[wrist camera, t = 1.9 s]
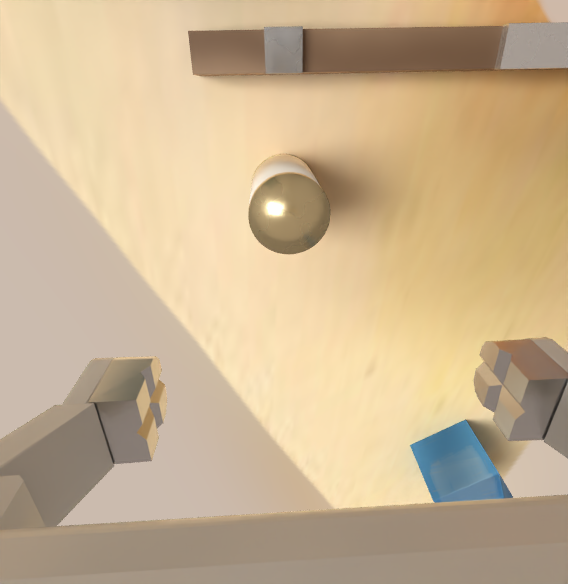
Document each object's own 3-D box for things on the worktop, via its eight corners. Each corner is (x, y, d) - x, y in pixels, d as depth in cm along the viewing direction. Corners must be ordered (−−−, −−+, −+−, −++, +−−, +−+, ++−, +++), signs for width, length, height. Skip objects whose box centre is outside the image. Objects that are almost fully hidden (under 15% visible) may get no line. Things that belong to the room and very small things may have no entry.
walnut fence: (196, 36, 23) (186, 28, 20) (618, 29, 24) (672, 20, 21) (200, 76, 24) (191, 75, 21) (606, 68, 25) (656, 65, 22)
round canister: (249, 155, 26) (245, 175, 20) (315, 153, 27) (331, 172, 20) (253, 219, 29) (250, 255, 22) (314, 217, 29) (328, 252, 22)
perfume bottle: (465, 419, 39) (541, 541, 29) (485, 453, 42) (562, 577, 31) (410, 445, 41) (462, 571, 30) (433, 476, 43) (488, 603, 33)
